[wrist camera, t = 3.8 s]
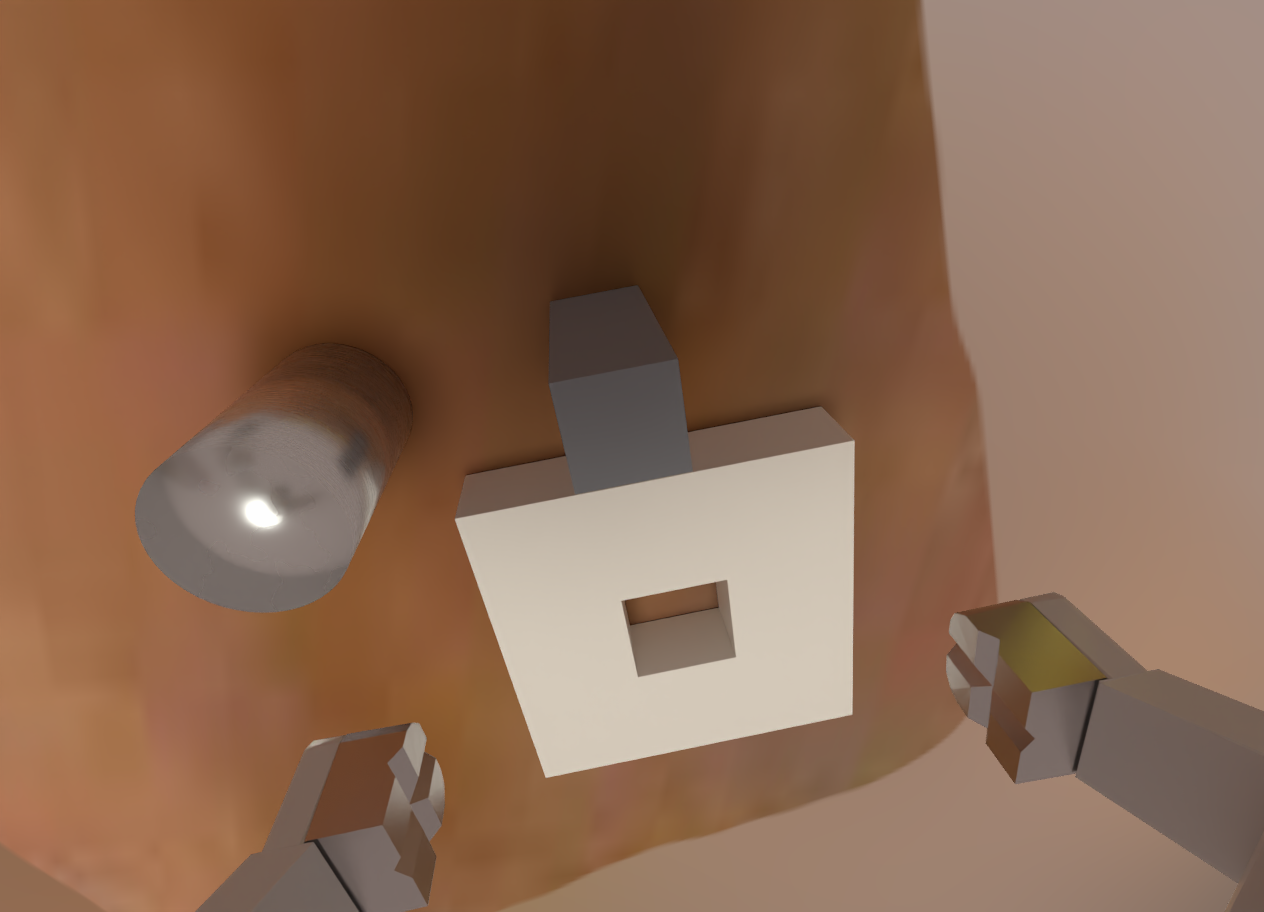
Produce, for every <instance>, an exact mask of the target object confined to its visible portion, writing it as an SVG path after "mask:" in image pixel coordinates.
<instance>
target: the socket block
mask: <svg viewBox="0 0 1264 912" xmlns="http://www.w3.org/2000/svg"><path fill="white" fill-rule="evenodd" d="M688 439H689V447H690V454H691V462H692V469H693V472H688V473H682V474H677V475H672V476H667V477H662V478H657V479H652V480H647V481H642V482H637V483H631V484H626V485H621V486H616V487H611V488H606V489H601V490H596V491H591V492H586V493H580V494H575V492H574V488H573V484H572V480H571V475H570V471H569V467H568V463H567V459H566V456H563V457H558V458H553V459H548V460H543V461H537V462H532V463H527V464H522V465H517V466H512V467H507V468H502V469H496V470H491V471H486V472H481V473H476V474H471V475H466V476H465V480H464V484H463V488H462V492H461V496H460V500H459V504H458V508H457V512H456V516H455V521H456V524H457V527H458V529H459V532H460V535H461V538H462V541H463V544H464V546H465V549H466V552H467V555H468V558H469V561H470V564H471V566H472V569H473V572H474V575H475V578H476V581H477V583H478V586H479V589H480V592H481V595H482V598H483V600H484V603H485V606H486V609H487V612H488V615H489V617H490V620H491V623H492V626H493V629H494V632H495V635H496V637H497V640H498V643H499V646H500V649H501V652H502V654H503V657H504V660H505V663H506V666H507V669H508V671H509V674H510V677H511V680H512V683H513V686H514V689H515V691H516V694H517V697H518V700H519V703H520V706H521V708H522V711H523V714H524V717H525V720H526V723H527V725H528V728H529V731H530V734H531V737H532V740H533V742H534V745H535V748H536V751H537V754H538V757H539V760H540V762H541V765H542V768H543V771H544V774H545V777H546V778H548V777H552V776H557V775H562V774H567V773H572V772H577V771H581V770H586V769H591V768H596V767H601V766H606V765H611V764H615V763H620V762H625V761H630V760H635V759H640V758H644V757H649V756H654V755H659V754H664V753H669V752H673V751H678V750H683V749H688V748H693V747H698V746H702V745H707V744H712V743H717V742H722V741H727V740H731V739H736V738H741V737H746V736H751V735H756V734H761V733H765V732H770V731H775V730H780V729H785V728H790V727H794V726H799V725H804V724H809V723H814V722H819V721H823V720H828V719H833V718H838V717H843V716H848V715H852V692H853V564H854V440H853V439H852V437H851V436H850V435H849V434H848V433H847V432H846V431H845V430H844V429H843V428H842V427H841V426H840V425H839V424H838V423H837V422H836V421H835V420H834V419H833V418H832V417H831V416H830V415H829V414H828V413H827V412H826V411H825V410H824V409H823V408H822V406H820V407H815V408H810V409H805V410H800V411H795V412H789V413H784V414H779V415H774V416H769V417H764V418H759V419H753V420H748V421H743V422H738V423H733V424H728V425H723V426H717V427H712V428H707V429H702V430H697V431H692V432H688ZM713 582H716V589H717V597H718V605H719V608H714V609H709V610H704V611H699V612H694V613H689V614H684V615H679V616H674V617H670V618H665V619H660V620H655V621H650V622H645V623H640V624H635V625H630V624H629V619H628V614H627V610H626V605H625V600H628V599H633V598H638V597H643V596H648V595H653V594H658V593H663V592H668V591H673V590H678V589H683V588H688V587H693V586H698V585H703V584H708V583H713Z"/></svg>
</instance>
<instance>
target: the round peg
mask: <svg viewBox="0 0 1264 912" xmlns="http://www.w3.org/2000/svg"><path fill="white" fill-rule="evenodd" d="M412 422H413V412H412V405H411V401H410V398H409V395H408V393H407V390H406V388H405V387H404V385H403V383H402V382H401V380H400V379H399V378H398V376H397V375H396V374H395V373H394V372H393V371H392V370H391V369H390V368H389V367H388V366H387V365H386V364H385V363H383V362H382V361H381V360H379V359H378V358H376V357H375V356H373V355H371V354H369V353H367V352H365V351H363V350H360V349H358V348H355V347H351V346H347V345H342V344H316V345H311V346H307V347H304V348H302V349H299V350H297V351H295V352H293V353H292V354H290V355H289V356H287V357H286V358H285V359H284V360H282V361H281V362H280V363H279V364H278V365H277V366H275V367H274V368H273V369H272V370H271V371H270V372H268V373H267V374H266V375H265V376H264V377H263V378H261V379H260V380H259V381H258V382H257V383H256V384H254V385H253V386H252V387H251V388H250V389H249V390H247V391H246V392H245V393H244V394H243V395H242V396H240V397H239V398H238V399H237V400H236V401H235V402H233V403H232V404H231V405H230V406H229V407H228V408H226V409H225V410H224V411H223V412H222V413H221V414H219V415H218V416H217V417H216V418H215V419H214V420H212V421H211V422H210V423H209V424H208V425H207V426H205V427H204V428H203V429H202V430H201V431H200V432H198V433H197V434H196V435H195V436H194V437H193V438H191V439H190V440H189V441H188V442H187V443H186V444H184V445H183V446H182V447H181V448H180V449H179V450H177V451H176V452H175V453H174V454H173V455H172V456H170V457H169V458H168V459H167V460H166V461H165V462H163V463H162V464H161V465H160V466H159V467H158V468H156V469H155V470H154V471H153V472H152V473H151V475H150V476H149V477H148V478H147V479H146V481H145V482H144V484H143V486H142V488H141V489H140V492H139V495H138V498H137V501H136V508H135V522H136V527H137V531H138V535H139V537H140V540H141V543H142V545H143V547H144V548H145V550H146V552H147V554H148V555H149V557H150V558H151V559H152V561H153V562H154V563H155V565H156V566H157V567H158V568H159V569H160V570H161V571H162V572H163V573H164V574H165V575H166V576H167V577H168V578H170V579H171V580H172V581H173V582H174V583H176V584H177V585H179V586H180V587H182V588H183V589H184V590H186V591H188V592H190V593H191V594H193V595H195V596H197V597H199V598H201V599H204V600H206V601H208V602H210V603H213V604H216V605H219V606H222V607H226V608H231V609H235V610H241V611H247V612H279V611H286V610H291V609H295V608H299V607H302V606H304V605H307V604H310V603H312V602H314V601H316V600H317V599H319V598H321V597H322V596H324V595H325V594H327V593H328V592H329V591H330V590H332V589H333V588H334V587H335V586H336V585H337V584H338V582H339V581H340V580H341V578H342V577H343V575H344V573H345V571H346V570H347V568H348V566H349V563H350V561H351V559H352V557H353V555H354V553H355V551H356V548H357V546H358V544H359V542H360V540H361V538H362V536H363V533H364V531H365V529H366V527H367V525H368V523H369V521H370V518H371V516H372V514H373V512H374V510H375V508H376V506H377V504H378V501H379V499H380V497H381V495H382V493H383V491H384V489H385V486H386V484H387V482H388V480H389V478H390V476H391V474H392V471H393V469H394V467H395V465H396V463H397V461H398V459H399V456H400V454H401V452H402V450H403V448H404V446H405V444H406V441H407V439H408V437H409V434H410V431H411V428H412Z"/></svg>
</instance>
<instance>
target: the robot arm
mask: <svg viewBox="0 0 1264 912" xmlns="http://www.w3.org/2000/svg"><path fill="white" fill-rule="evenodd" d="M949 634H950V635H951V636H952V637H953V639H954V640H955V641H956V642H957V643H956V644H955V646H954V647H953V648H952V649H951V650H950V652H949V653H948V654H947V665H946V672H947V676H948V680H949V684H950V688H951V691H952V693H953V695H954V697H955V699H956V701H957V703H958V704H959V706H960V707H961V709H962V710H963V712H964V713H965V715H966V716H967V717H968V718H969V719H971V720H973V721H975V722H976V723H978V724H980V725H982V726H984V727H986V728H987V735H986V744H987V746H988V747H989V748H990V750H991V751H992V752H993V754H994V755H995V757H996V758H997V760H998V761H999V762H1000V764H1001V765H1002V766H1003V768H1004V769H1005V771H1006V772H1007V773H1008V775H1009V776H1010V778H1011V779H1012V780H1013V782H1014V783H1015V784H1019V783H1024V782H1030V781H1036V780H1041V779H1047V778H1053V777H1059V776H1064V775H1070V774H1075V773H1076V776H1075V777H1076V778H1078V779H1079V780H1081V781H1082V782H1084V783H1086V784H1087V785H1088V786H1090V787H1092V788H1093V789H1095V790H1096V791H1098V792H1099V793H1101V794H1102V795H1104V796H1105V797H1107V798H1108V799H1110V800H1112V801H1113V802H1114V803H1116V804H1118V805H1119V806H1121V807H1122V808H1124V809H1125V810H1127V811H1128V812H1130V813H1132V814H1133V815H1134V816H1136V817H1138V818H1139V819H1141V820H1142V821H1143V822H1145V823H1146V824H1148V825H1150V826H1151V827H1153V828H1154V829H1156V830H1157V831H1159V832H1160V833H1162V834H1163V835H1165V836H1166V837H1168V838H1169V839H1171V840H1173V841H1174V842H1175V843H1177V844H1179V845H1180V846H1182V847H1183V848H1185V849H1186V850H1188V851H1189V852H1191V853H1192V854H1194V855H1195V856H1197V857H1199V858H1200V859H1201V860H1203V861H1204V862H1206V863H1208V864H1209V865H1211V866H1212V867H1214V868H1215V869H1217V870H1218V871H1220V872H1221V873H1223V874H1224V875H1226V876H1228V877H1229V878H1230V879H1232V880H1233V881H1235V882H1237V883H1238V885H1237V887H1236V889H1235V891H1234V893H1233V895H1232V897H1231V899H1230V901H1229V903H1228V905H1227V907H1226V910H1225V912H1264V711H1262V710H1259V709H1256V708H1254V707H1252V706H1249V705H1247V704H1244V703H1242V702H1239V701H1237V700H1234V699H1231V698H1229V697H1227V696H1224V695H1222V694H1219V693H1217V692H1214V691H1212V690H1209V689H1206V688H1204V687H1202V686H1199V685H1197V684H1194V683H1191V682H1189V681H1187V680H1184V679H1182V678H1179V677H1177V676H1174V675H1172V674H1169V673H1167V672H1164V671H1161V670H1159V669H1157V670H1151V671H1147V670H1146V669H1145V668H1144V667H1143V666H1141V665H1140V664H1139V663H1138V662H1137V661H1136V660H1135V659H1134V658H1132V657H1131V656H1130V655H1129V654H1128V653H1127V652H1126V651H1125V650H1124V649H1122V648H1121V647H1120V646H1119V645H1118V644H1117V643H1116V642H1115V641H1113V640H1112V639H1111V638H1110V637H1109V636H1108V635H1107V634H1106V633H1104V632H1103V631H1102V630H1101V629H1100V628H1099V627H1098V626H1097V625H1095V624H1094V623H1093V622H1092V621H1091V620H1090V619H1089V618H1088V617H1086V616H1085V615H1084V614H1083V613H1082V612H1081V611H1080V610H1079V609H1078V608H1076V607H1075V606H1074V605H1073V604H1072V603H1071V602H1070V601H1068V600H1067V599H1066V598H1065V597H1064V596H1062V595H1060V594H1057V593H1054V592H1053V593H1048V594H1043V595H1038V596H1034V597H1029V598H1025V599H1020V600H1014V601H1009V602H1005V603H999V604H995V605H990V606H985V607H981V608H976V609H971V610H967V611H962V612H957V613H955V614H954V615H953V617H952V618H951V620H950V628H949ZM426 739H427V738H426V736H425V734H424V732H423V730H422V728H421V726H420V724H419V723H408V724H403V725H397V726H391V727H385V728H380V729H374V730H368V731H362V732H357V733H351V734H347V735H343V736H337V737H332V738H326V739H320V740H315V741H313V742H312V743H311V744H310V745H309V746H308V747H307V748H306V749H305V751H304V752H303V755H302V757H301V760H300V762H299V764H298V767H297V769H296V772H295V774H294V776H293V779H292V781H291V784H290V786H289V788H288V791H287V793H286V795H285V798H284V800H283V803H282V805H281V807H280V810H279V812H278V815H277V817H276V819H275V822H274V824H273V827H272V829H271V831H270V834H269V836H268V838H267V841H266V843H265V846H264V848H263V850H262V852H259V853H255V854H251V855H250V856H249V857H248V858H247V859H246V860H245V861H244V862H243V863H242V864H241V865H240V866H239V867H238V868H237V869H236V870H235V871H234V872H233V873H232V874H231V875H230V876H229V878H228V879H227V880H226V881H225V882H224V883H223V884H222V885H221V886H220V887H219V888H218V889H217V890H216V891H215V892H214V893H213V894H212V895H211V896H210V897H209V898H208V899H207V900H206V901H205V902H204V903H203V904H202V905H201V906H200V907H199V908H198V909H197V910H196V911H195V912H404V911H408V910H412V909H416V908H421V907H425V906H428V902H429V896H430V890H431V884H432V879H433V873H434V867H435V861H436V855H435V853H434V851H433V849H432V847H431V844H430V842H429V841H430V840H431V839H432V837H433V836H434V835H435V833H436V832H437V831H438V829H439V828H440V827H441V825H442V819H443V813H444V806H445V802H444V782H443V777H442V773H441V769H440V766H439V764H438V762H437V760H436V758H435V757H433V756H431V755H429V754H427V753H425V752H424V749H425V744H426Z"/></svg>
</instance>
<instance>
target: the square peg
mask: <svg viewBox="0 0 1264 912" xmlns="http://www.w3.org/2000/svg"><path fill="white" fill-rule="evenodd" d="M549 387H550V392H551V396H552V400H553V404H554V408H555V413H556V417H557V421H558V425H559V429H560V433H561V438H562V442H563V446H564V450H565V454H566V459H567V463H568V467H569V471H570V475H571V480H572V484H573V488H574V492H575V494H580V493H586V492H591V491H596V490H601V489H606V488H611V487H616V486H621V485H626V484H631V483H637V482H642V481H647V480H652V479H657V478H662V477H667V476H672V475H677V474H682V473H688V472H693V469H692V462H691V454H690V447H689V439H688V431H687V424H686V416H685V409H684V401H683V393H682V386H681V378H680V371H679V363H678V358H677V356H676V354H675V352H674V351H673V349H672V347H671V345H670V343H669V341H668V340H667V338H666V336H665V334H664V332H663V330H662V329H661V327H660V325H659V323H658V321H657V319H656V318H655V316H654V314H653V312H652V310H651V308H650V307H649V305H648V303H647V301H646V299H645V297H644V296H643V294H642V292H641V290H640V288H639V286H638V285H636V286H630V287H625V288H620V289H614V290H609V291H604V292H598V293H593V294H588V295H582V296H577V297H572V298H567V299H561V300H556V301H551V302H550V328H549Z"/></svg>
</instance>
